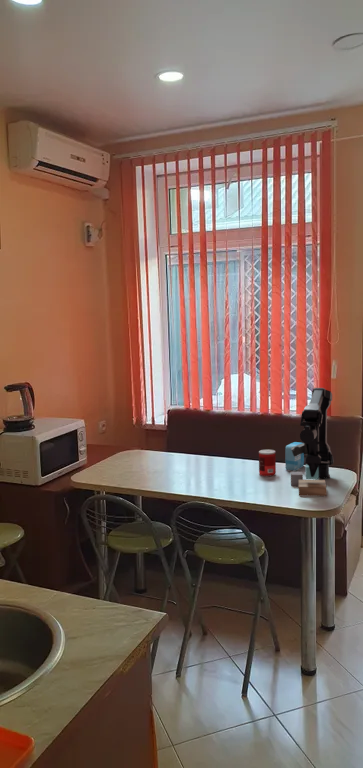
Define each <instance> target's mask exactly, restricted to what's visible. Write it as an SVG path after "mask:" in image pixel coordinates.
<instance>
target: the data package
mask: <svg viewBox="0 0 363 768" xmlns="http://www.w3.org/2000/svg"><path fill="white" fill-rule="evenodd" d="M303 443H304V442H297V441H294V442H291V443H289V444H287V445H285V451H284V452H285V454H284V455H285V459H284V460H285V470H286V471H291V472H297V470H300V469H301V468H303V467H304V465H305V457H304V455H305V454H304V453H302V454H299V455H297V456H294V455H293V453H292V450H291V447H294V446H297V445H299V444H303Z"/></svg>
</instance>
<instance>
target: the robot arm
mask: <svg viewBox="0 0 363 768" xmlns="http://www.w3.org/2000/svg"><path fill="white" fill-rule="evenodd" d="M332 401H333V393H332V391H331V390H328V389H326V388H324V387H314V388H313V389H312V390H311V399H310V401H309V404H308V405H306V406H304V408H303V410H302V412H301V417H300V424H299V425H300V427H303V429H302V430H301V432H300V433H299V438H300V441H301V442H302V443H303V444H299V445H297V446H294V447H291V450H292V453H293V455H294V456H297V455H299V454H302V453H304V464H308V465H309V468H310V474H311V477H314V475H315V473H316V471H317V468H318V469H319V479H331V476H330V466H332V465H334V456H333V453H332V451H331V446H330V445H329V444H328V410H329V408H330V406H331V404H332Z"/></svg>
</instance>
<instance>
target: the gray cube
mask: <svg viewBox="0 0 363 768" xmlns="http://www.w3.org/2000/svg"><path fill="white" fill-rule="evenodd" d="M303 477H304V476H303V471H290V486H291V487H292V486H293V487H299V479H300V480H304V478H303Z"/></svg>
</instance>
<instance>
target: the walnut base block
mask: <svg viewBox="0 0 363 768" xmlns="http://www.w3.org/2000/svg"><path fill="white" fill-rule="evenodd" d="M326 483H327V482H326V480H325V479H303V480H300V479H299V486H298V496H304V497H305V496H307V497H308V496H310V497H311V496H312V497H327V484H326Z"/></svg>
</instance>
